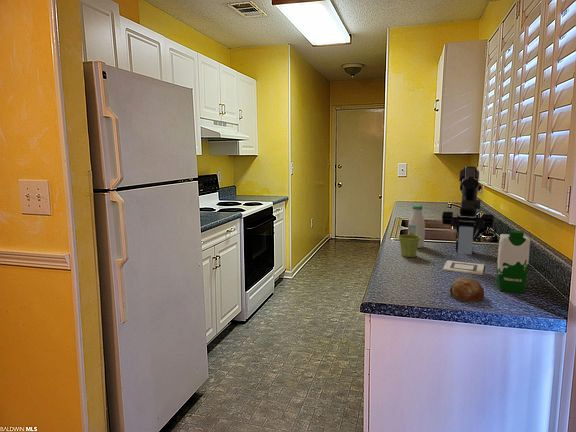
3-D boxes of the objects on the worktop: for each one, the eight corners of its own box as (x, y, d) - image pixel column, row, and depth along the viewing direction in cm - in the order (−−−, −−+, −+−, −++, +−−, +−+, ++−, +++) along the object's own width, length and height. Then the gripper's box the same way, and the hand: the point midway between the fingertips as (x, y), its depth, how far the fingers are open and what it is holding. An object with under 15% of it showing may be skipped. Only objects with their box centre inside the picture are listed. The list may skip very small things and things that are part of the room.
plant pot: (412, 259, 176) (412, 239, 175) (393, 255, 183) (394, 236, 182) (423, 256, 182) (424, 236, 181) (405, 252, 189) (406, 233, 188)
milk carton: (497, 291, 136) (502, 232, 132) (493, 283, 144) (498, 227, 141) (528, 294, 133) (533, 233, 130) (522, 286, 141) (527, 228, 138)
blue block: (458, 250, 166) (459, 225, 164) (471, 251, 163) (473, 226, 162) (457, 253, 161) (459, 228, 159) (471, 254, 159) (473, 229, 157)
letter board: (484, 265, 166) (484, 264, 166) (482, 275, 154) (482, 273, 154) (447, 261, 172) (447, 260, 172) (442, 270, 160) (442, 268, 160)
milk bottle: (421, 244, 204) (424, 204, 201) (425, 248, 196) (427, 206, 193) (405, 244, 205) (407, 204, 201) (408, 248, 197) (410, 206, 194)
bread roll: (448, 302, 136) (439, 281, 135) (476, 288, 137) (467, 267, 135) (463, 313, 127) (454, 291, 125) (493, 299, 127) (484, 276, 125)
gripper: (443, 191, 166) (439, 222, 158) (495, 193, 158) (494, 226, 150) (444, 208, 174) (440, 238, 166) (493, 211, 166) (491, 243, 158)
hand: (465, 236), depth 160 cm, fingers closed on blue block, 5 cm apart
